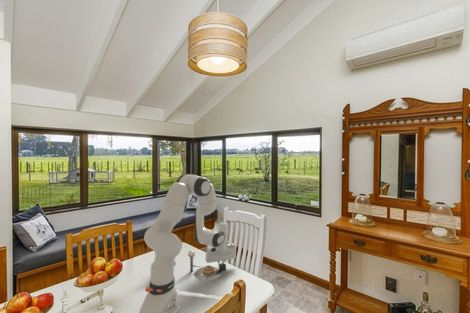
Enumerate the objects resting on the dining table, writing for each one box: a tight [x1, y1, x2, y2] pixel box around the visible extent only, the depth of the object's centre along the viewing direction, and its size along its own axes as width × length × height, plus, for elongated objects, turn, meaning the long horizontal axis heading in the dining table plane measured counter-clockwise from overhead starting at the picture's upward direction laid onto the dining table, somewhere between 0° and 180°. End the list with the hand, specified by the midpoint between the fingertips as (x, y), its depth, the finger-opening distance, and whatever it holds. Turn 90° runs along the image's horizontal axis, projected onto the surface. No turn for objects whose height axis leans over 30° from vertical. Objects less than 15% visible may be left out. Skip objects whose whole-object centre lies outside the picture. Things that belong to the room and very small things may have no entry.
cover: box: [203, 264, 215, 276], centre depth 146 cm, size 7×7×4 cm
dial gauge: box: [187, 250, 201, 273], centre depth 147 cm, size 8×4×15 cm, turn 78°
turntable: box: [193, 262, 227, 282], centre depth 146 cm, size 20×17×4 cm
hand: (220, 266), depth 151 cm, fingers closed
